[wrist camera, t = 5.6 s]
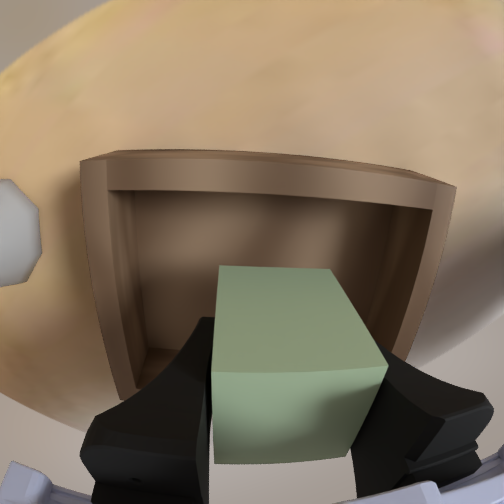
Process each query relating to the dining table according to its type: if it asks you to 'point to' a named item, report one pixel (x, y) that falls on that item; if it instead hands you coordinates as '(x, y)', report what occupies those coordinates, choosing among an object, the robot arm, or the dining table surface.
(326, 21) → the dining table surface
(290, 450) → the green block
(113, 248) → the walnut crate
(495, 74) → the dining table surface
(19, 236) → the flask
